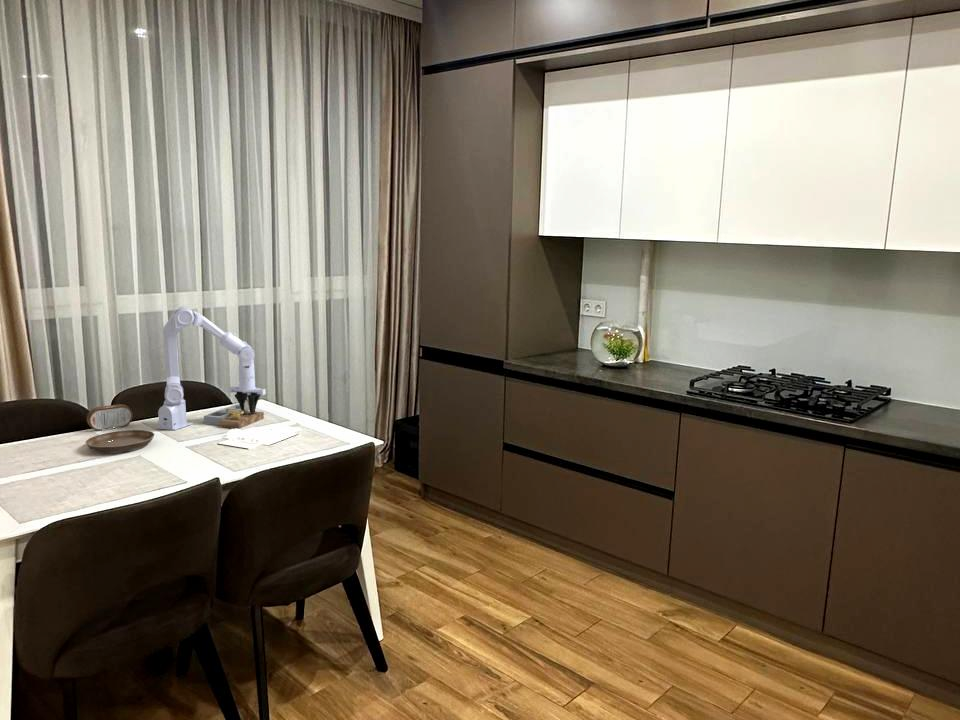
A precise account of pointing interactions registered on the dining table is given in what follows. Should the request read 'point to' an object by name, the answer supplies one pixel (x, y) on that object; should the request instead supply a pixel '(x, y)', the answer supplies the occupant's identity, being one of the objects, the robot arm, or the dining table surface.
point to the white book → (258, 436)
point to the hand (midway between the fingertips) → (248, 411)
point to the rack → (220, 415)
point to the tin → (109, 416)
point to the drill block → (241, 420)
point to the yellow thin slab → (235, 413)
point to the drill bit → (247, 407)
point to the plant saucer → (120, 441)
